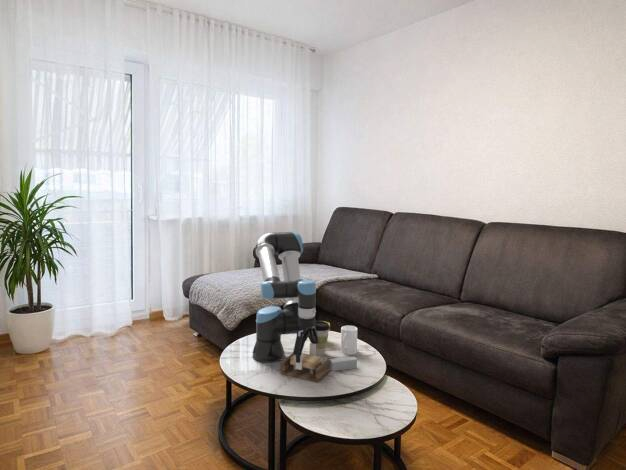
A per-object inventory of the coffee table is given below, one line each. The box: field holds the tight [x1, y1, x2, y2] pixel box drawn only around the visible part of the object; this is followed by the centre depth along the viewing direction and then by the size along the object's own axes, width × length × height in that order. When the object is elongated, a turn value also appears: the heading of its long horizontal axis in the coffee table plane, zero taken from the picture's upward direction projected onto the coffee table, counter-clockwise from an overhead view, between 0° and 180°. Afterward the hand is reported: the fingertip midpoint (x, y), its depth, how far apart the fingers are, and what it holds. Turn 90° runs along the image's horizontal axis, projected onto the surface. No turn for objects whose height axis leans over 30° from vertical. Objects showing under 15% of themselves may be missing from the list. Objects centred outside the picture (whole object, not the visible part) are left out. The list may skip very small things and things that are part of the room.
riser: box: [330, 356, 358, 372], centre depth 191 cm, size 12×3×4 cm, turn 110°
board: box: [290, 352, 323, 370], centre depth 186 cm, size 12×7×3 cm, turn 65°
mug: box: [339, 325, 358, 356], centre depth 209 cm, size 12×8×12 cm
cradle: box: [280, 352, 331, 383], centre depth 186 cm, size 18×12×6 cm, turn 65°
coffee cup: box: [310, 320, 331, 357], centre depth 207 cm, size 10×10×15 cm
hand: (305, 363), depth 186 cm, fingers open, 13 cm apart
